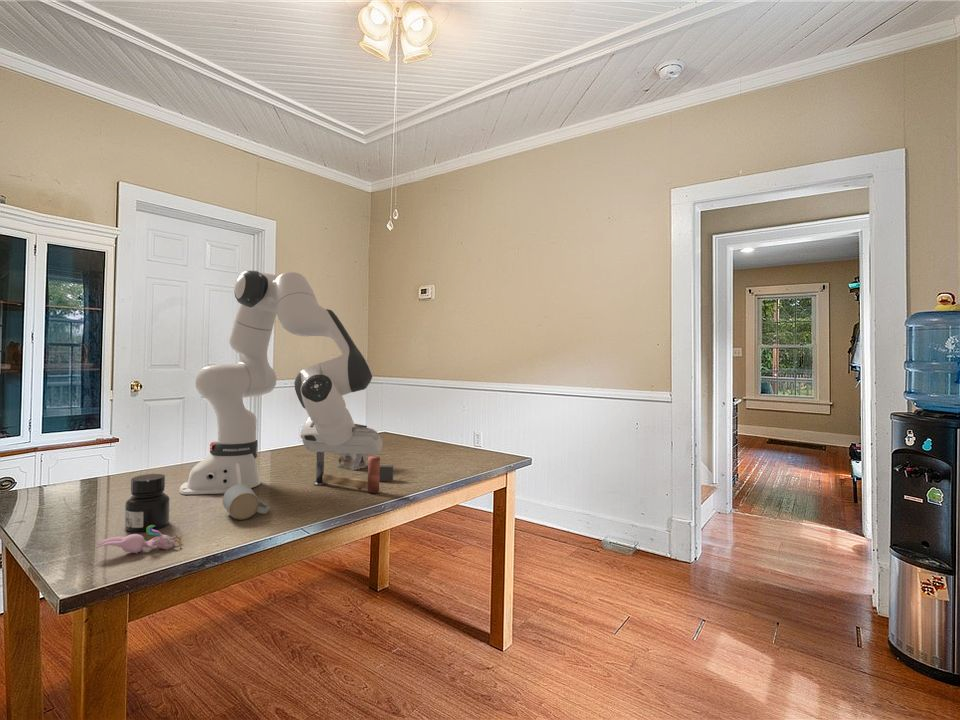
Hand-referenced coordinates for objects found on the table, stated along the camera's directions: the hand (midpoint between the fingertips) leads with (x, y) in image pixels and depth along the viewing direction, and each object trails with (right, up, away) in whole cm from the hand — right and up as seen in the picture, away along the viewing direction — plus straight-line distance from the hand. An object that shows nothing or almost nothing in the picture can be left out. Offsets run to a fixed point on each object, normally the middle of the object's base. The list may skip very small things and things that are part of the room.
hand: (350, 457), depth 130 cm
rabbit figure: (-38, -15, -28) cm, 49 cm away
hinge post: (-17, -14, +27) cm, 35 cm away
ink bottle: (-46, -14, -13) cm, 50 cm away
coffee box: (-13, -14, +50) cm, 54 cm away
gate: (-6, -14, +22) cm, 27 cm away
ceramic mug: (-27, -15, -4) cm, 31 cm away
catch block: (+3, -15, +33) cm, 36 cm away
